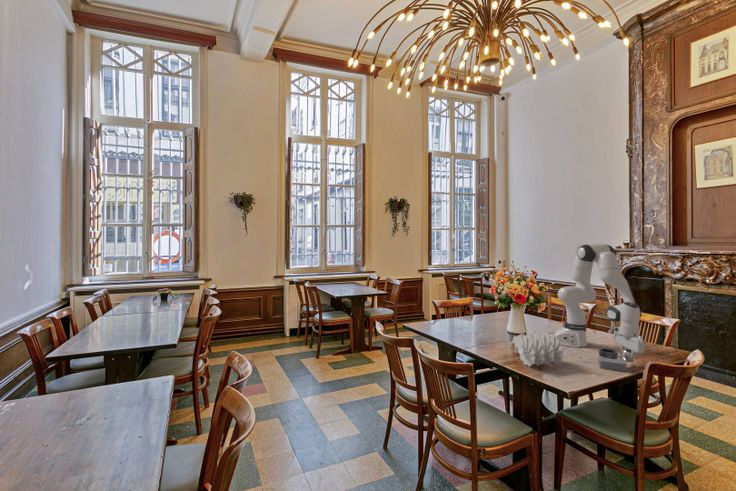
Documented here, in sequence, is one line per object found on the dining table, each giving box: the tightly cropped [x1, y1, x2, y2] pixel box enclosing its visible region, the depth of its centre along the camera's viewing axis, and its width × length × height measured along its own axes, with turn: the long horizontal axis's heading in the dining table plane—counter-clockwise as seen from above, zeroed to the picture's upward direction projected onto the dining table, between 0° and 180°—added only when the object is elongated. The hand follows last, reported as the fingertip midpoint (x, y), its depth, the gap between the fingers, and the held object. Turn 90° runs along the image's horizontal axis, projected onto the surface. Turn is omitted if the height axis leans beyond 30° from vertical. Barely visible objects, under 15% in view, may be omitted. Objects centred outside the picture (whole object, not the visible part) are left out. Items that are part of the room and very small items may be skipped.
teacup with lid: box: [510, 333, 525, 355], centre depth 237 cm, size 12×9×12 cm
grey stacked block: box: [597, 347, 627, 372], centre depth 212 cm, size 12×9×9 cm
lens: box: [622, 347, 634, 363], centre depth 214 cm, size 5×5×7 cm
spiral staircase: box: [511, 331, 564, 368], centre depth 216 cm, size 18×18×25 cm
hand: (628, 355), depth 214 cm, fingers closed on lens, 5 cm apart
